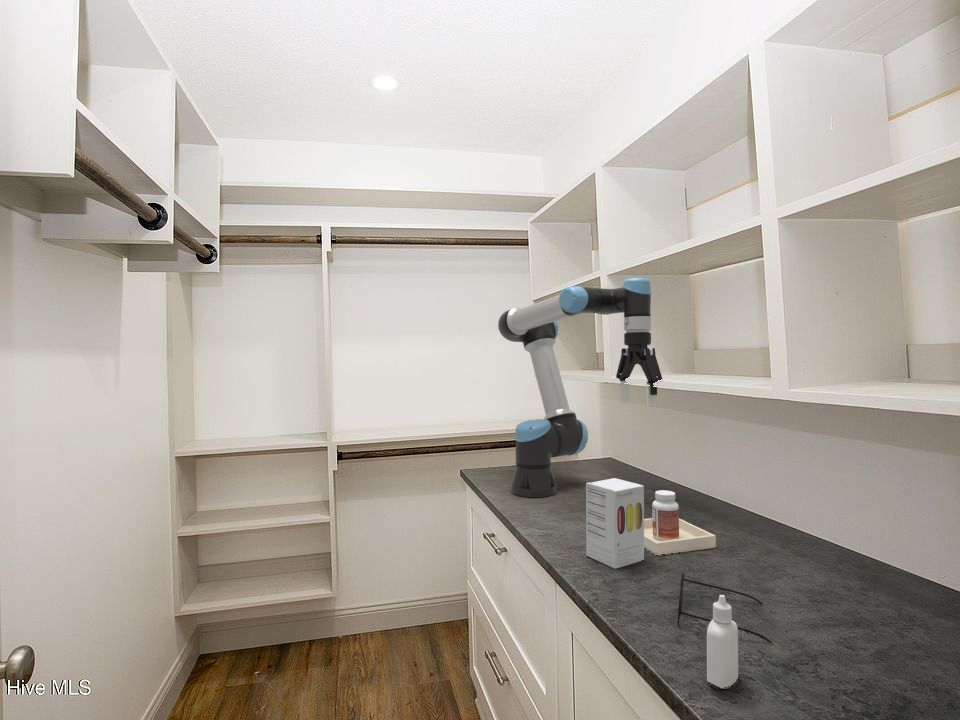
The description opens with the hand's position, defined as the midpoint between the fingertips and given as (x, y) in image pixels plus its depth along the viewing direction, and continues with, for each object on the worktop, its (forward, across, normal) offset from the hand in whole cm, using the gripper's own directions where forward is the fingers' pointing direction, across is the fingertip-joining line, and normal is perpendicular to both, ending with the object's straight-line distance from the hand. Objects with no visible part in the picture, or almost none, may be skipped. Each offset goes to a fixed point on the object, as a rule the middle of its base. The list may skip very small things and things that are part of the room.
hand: (638, 404), depth 155 cm
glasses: (+31, +59, -21) cm, 70 cm away
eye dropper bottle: (+31, +74, -34) cm, 87 cm away
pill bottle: (+30, +24, -8) cm, 40 cm away
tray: (+31, +24, -8) cm, 40 cm away
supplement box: (+31, +30, -26) cm, 50 cm away
